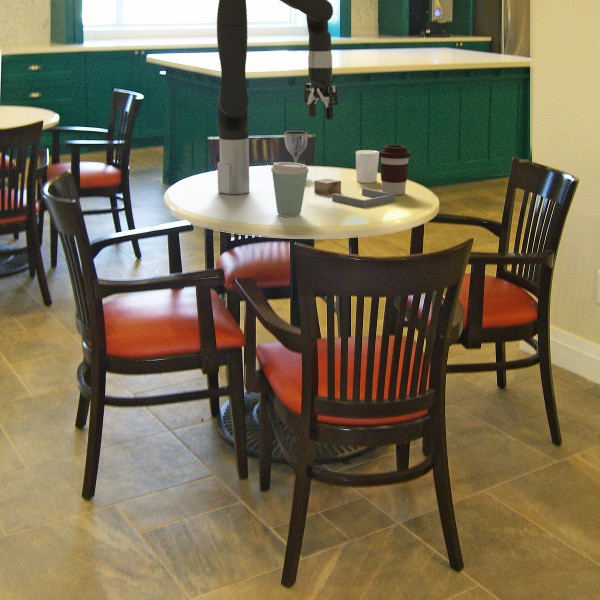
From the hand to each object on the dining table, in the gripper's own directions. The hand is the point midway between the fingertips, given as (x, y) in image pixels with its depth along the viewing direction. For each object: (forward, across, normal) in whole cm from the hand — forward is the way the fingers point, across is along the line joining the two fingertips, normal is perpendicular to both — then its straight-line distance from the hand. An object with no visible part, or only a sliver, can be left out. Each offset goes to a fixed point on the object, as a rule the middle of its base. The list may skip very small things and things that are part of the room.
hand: (320, 117), depth 284 cm
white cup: (+23, 0, +20) cm, 31 cm away
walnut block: (+23, +7, -3) cm, 24 cm away
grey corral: (+23, +23, -2) cm, 32 cm away
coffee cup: (+23, +20, +13) cm, 34 cm away
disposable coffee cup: (+22, +25, -32) cm, 46 cm away
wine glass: (+23, -23, +7) cm, 33 cm away
